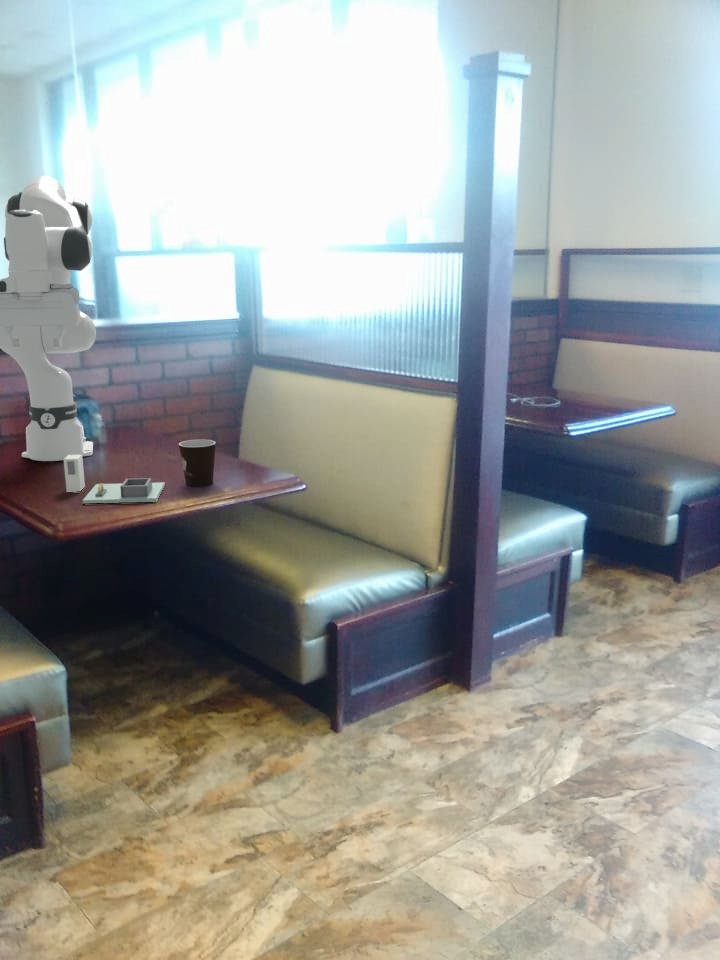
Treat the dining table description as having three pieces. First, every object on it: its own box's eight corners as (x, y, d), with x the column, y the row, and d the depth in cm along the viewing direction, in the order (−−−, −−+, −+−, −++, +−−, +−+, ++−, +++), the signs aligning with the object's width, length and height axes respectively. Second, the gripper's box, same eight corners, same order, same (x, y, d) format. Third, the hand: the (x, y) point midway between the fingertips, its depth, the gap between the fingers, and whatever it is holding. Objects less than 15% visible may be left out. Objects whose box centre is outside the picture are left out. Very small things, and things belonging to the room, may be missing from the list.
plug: (71, 487, 207) (68, 454, 205) (85, 487, 207) (82, 454, 205) (66, 493, 202) (62, 459, 200) (80, 493, 202) (77, 459, 200)
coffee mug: (216, 488, 206) (214, 446, 203) (179, 489, 205) (176, 447, 203) (219, 476, 217) (218, 436, 215) (184, 476, 216) (182, 437, 214)
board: (96, 488, 206) (95, 473, 206) (164, 486, 208) (164, 472, 207) (83, 504, 193) (81, 489, 192) (156, 502, 194) (155, 487, 193)
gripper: (81, 283, 200) (86, 344, 203) (-11, 284, 198) (-4, 346, 201) (74, 284, 193) (79, 347, 197) (-21, 285, 192) (-14, 348, 195)
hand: (36, 346), depth 199 cm, fingers open, 8 cm apart
